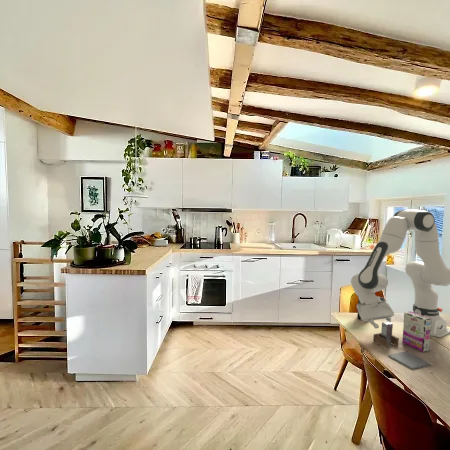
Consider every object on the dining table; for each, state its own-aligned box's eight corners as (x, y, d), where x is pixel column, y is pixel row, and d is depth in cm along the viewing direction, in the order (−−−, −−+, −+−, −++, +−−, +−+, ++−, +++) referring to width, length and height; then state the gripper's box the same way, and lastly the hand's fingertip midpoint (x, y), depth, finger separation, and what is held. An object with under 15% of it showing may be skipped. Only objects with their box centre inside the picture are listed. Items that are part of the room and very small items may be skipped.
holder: (385, 339, 159) (386, 332, 159) (398, 345, 152) (398, 338, 152) (373, 341, 156) (373, 334, 156) (385, 348, 149) (385, 340, 149)
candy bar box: (429, 351, 148) (432, 318, 147) (423, 352, 146) (425, 319, 145) (408, 341, 158) (410, 310, 157) (401, 342, 156) (403, 311, 155)
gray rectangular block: (386, 342, 156) (387, 321, 156) (391, 344, 154) (392, 323, 153) (380, 343, 155) (381, 322, 154) (385, 345, 152) (386, 324, 151)
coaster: (406, 352, 146) (406, 350, 146) (431, 365, 134) (431, 363, 134) (388, 356, 141) (388, 354, 141) (412, 369, 130) (412, 368, 130)
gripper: (358, 301, 158) (372, 326, 149) (387, 298, 165) (402, 322, 156) (351, 306, 162) (364, 331, 154) (380, 303, 169) (394, 327, 161)
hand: (384, 326), depth 155 cm, fingers open, 8 cm apart
